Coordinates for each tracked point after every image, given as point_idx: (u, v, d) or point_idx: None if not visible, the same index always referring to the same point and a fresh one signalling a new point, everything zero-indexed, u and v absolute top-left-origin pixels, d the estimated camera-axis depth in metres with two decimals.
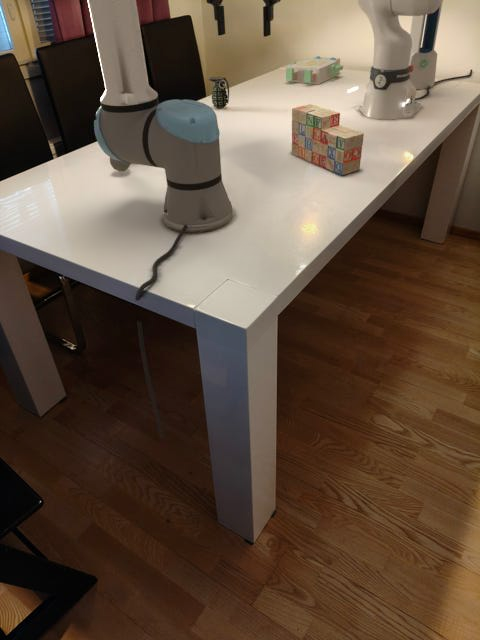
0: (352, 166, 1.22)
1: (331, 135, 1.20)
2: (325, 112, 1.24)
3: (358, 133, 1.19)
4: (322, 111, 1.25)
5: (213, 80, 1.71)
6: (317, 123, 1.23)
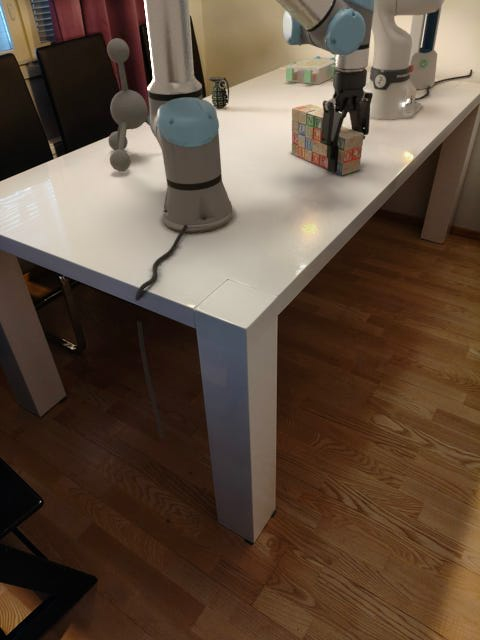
0: (352, 166, 1.22)
1: None
2: None
3: (358, 133, 1.19)
4: (322, 111, 1.25)
5: (213, 80, 1.71)
6: (317, 123, 1.23)
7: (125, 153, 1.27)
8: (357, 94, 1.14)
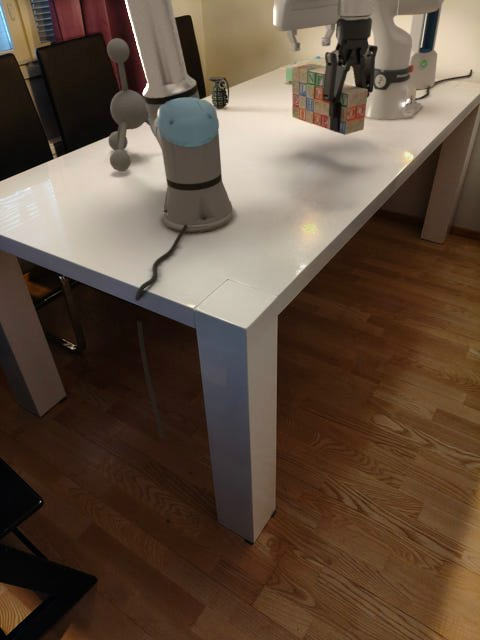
0: (356, 125, 1.16)
1: None
2: None
3: (361, 89, 1.13)
4: (324, 68, 1.19)
5: (213, 80, 1.71)
6: (318, 80, 1.17)
7: (125, 153, 1.27)
8: (361, 46, 1.08)
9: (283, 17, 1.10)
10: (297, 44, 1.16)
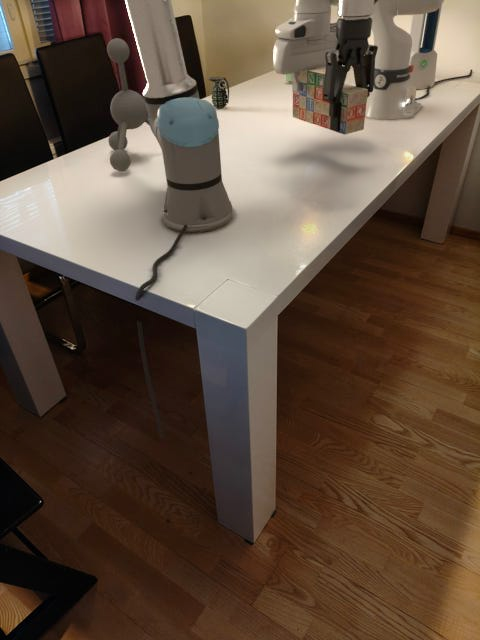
0: (356, 125, 1.16)
1: None
2: None
3: (362, 89, 1.13)
4: (324, 68, 1.19)
5: (213, 80, 1.71)
6: (319, 80, 1.17)
7: (125, 153, 1.27)
8: (361, 46, 1.08)
9: (282, 62, 1.15)
10: (299, 84, 1.22)
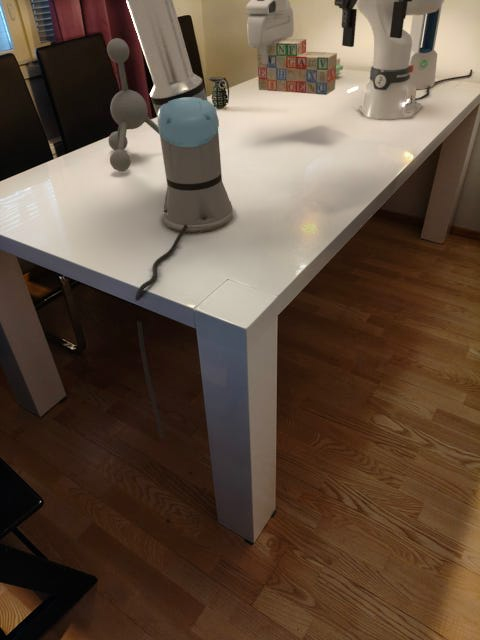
0: (331, 86, 1.33)
1: (310, 58, 1.28)
2: (292, 40, 1.32)
3: (332, 53, 1.29)
4: (289, 40, 1.32)
5: (213, 80, 1.71)
6: (291, 50, 1.30)
7: (125, 153, 1.27)
8: None
9: (261, 36, 1.25)
10: (268, 57, 1.33)
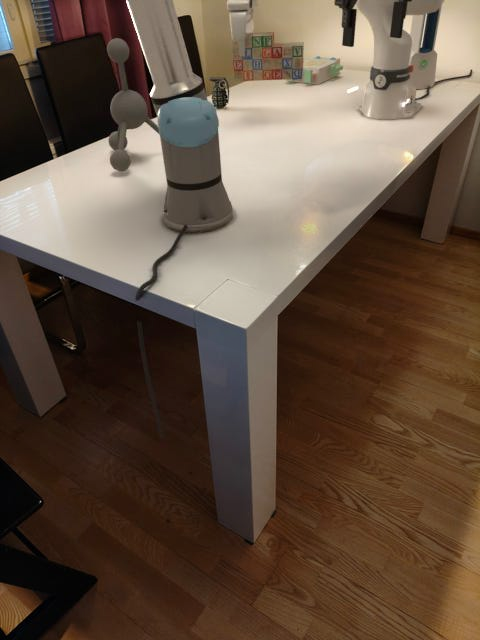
0: (302, 71, 1.51)
1: (286, 47, 1.45)
2: (263, 33, 1.47)
3: (301, 42, 1.47)
4: (260, 33, 1.47)
5: (213, 80, 1.71)
6: (267, 42, 1.45)
7: (125, 153, 1.27)
8: None
9: (245, 29, 1.38)
10: (245, 50, 1.46)
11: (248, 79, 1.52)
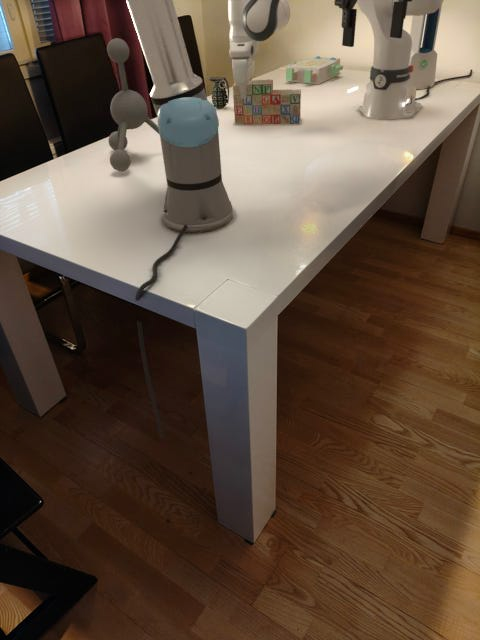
0: None
1: (284, 95, 1.53)
2: (262, 81, 1.55)
3: (298, 90, 1.56)
4: (259, 81, 1.55)
5: (213, 80, 1.71)
6: (266, 90, 1.53)
7: (125, 153, 1.27)
8: None
9: (246, 75, 1.45)
10: (246, 93, 1.53)
11: (248, 123, 1.60)
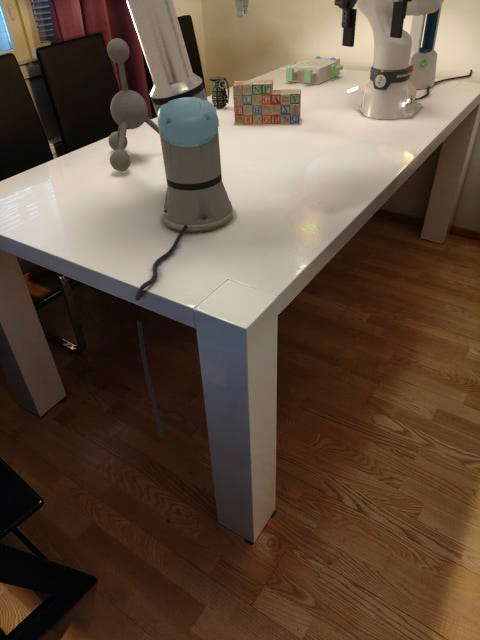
0: None
1: (284, 95, 1.53)
2: (262, 81, 1.55)
3: (298, 90, 1.56)
4: (259, 81, 1.55)
5: (213, 80, 1.71)
6: (266, 90, 1.53)
7: (125, 153, 1.27)
8: None
9: None
10: (243, 11, 1.39)
11: (248, 123, 1.60)
